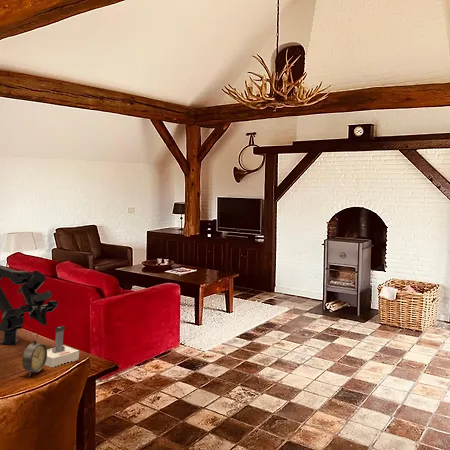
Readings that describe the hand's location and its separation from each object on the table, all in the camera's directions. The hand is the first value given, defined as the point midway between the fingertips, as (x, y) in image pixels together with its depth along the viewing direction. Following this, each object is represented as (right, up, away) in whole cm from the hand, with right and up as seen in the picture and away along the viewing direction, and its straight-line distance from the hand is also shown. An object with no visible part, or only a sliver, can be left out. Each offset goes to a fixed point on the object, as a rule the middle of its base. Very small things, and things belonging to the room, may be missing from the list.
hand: (45, 324), depth 207 cm
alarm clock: (+3, -15, -20) cm, 25 cm away
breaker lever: (+7, -11, -4) cm, 14 cm away
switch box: (+7, -15, -4) cm, 17 cm away
